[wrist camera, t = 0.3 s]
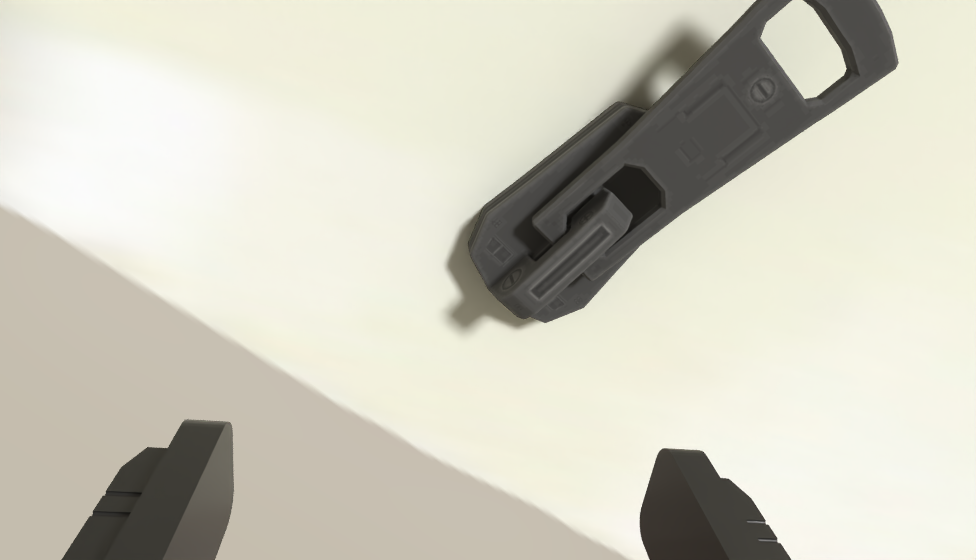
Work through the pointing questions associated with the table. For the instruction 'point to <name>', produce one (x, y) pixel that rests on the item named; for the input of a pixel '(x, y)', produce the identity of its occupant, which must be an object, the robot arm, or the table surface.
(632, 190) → the zipper pull
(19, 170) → the table surface
